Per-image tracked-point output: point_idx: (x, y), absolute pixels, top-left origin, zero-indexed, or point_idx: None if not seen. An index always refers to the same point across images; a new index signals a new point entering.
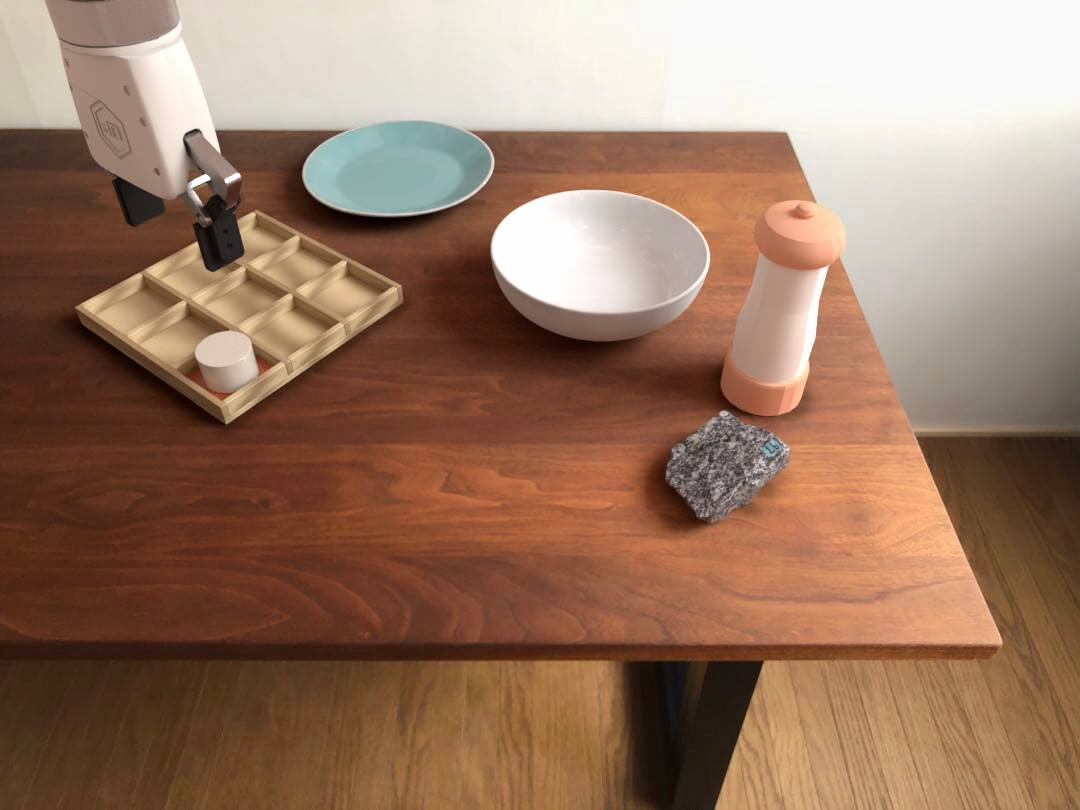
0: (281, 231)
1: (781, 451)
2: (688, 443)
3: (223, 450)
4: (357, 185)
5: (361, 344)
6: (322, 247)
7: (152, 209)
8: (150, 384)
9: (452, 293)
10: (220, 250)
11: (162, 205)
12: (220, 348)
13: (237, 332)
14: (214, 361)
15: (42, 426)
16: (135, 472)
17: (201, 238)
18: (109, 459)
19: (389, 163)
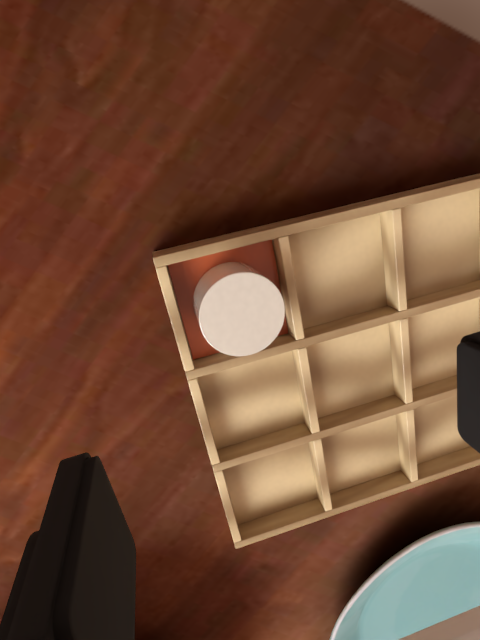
0: (442, 465)
1: None
2: None
3: (104, 226)
4: (453, 563)
5: (191, 458)
6: (372, 497)
7: (476, 417)
8: (301, 199)
9: (207, 576)
10: (19, 568)
11: (475, 445)
12: (245, 312)
13: (263, 347)
14: (222, 292)
15: (323, 22)
16: (137, 96)
17: (27, 582)
18: (189, 76)
19: (460, 604)
